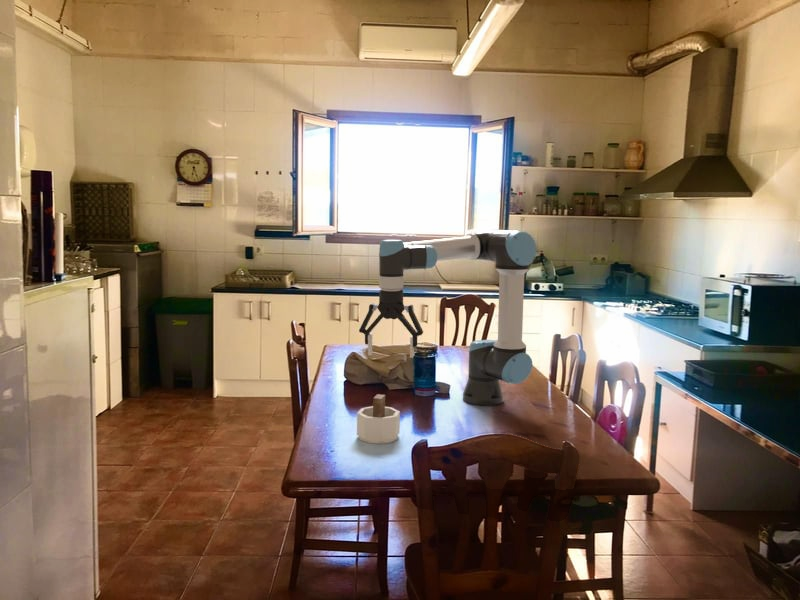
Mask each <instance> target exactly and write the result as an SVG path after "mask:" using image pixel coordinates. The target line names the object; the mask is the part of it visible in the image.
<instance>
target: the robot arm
mask: <svg viewBox="0 0 800 600" xmlns="http://www.w3.org/2000/svg"><path fill="white" fill-rule="evenodd" d="M537 250H538V249H537V244H536V241H535V239H534V238H533V237H532V235H531V234H530V233H528V232H527V231H523V230H518V229H515V230H513V229H489V230H484V231H480V232H479V231H478V232H471V233H468V234H466V235H465V236H461V237H460V236H459V237H450V238H449V237H446V238H439V239H430V240H429V239H428V240H418V241H417V240H416V241H409V242H408V241H407V242H406V241H405V242H404V241H403V240H402V239H382V240H381V241H380V243H379V249H378V251H379V252H378V257H379V258H378V259H379V261H378V262H379V264H378V265H379V266H378V268H379V275H378V277H379V279H378V280H379V282H378V287H379V289H380V290H379V293H378V295H379V298H378V304H375V303H372V302H371V304H369V306H368V312H367V313H366V315H365V318H364V319H363V320H362V323H361V326H360V328H359V330H358V332H359V333H362V334H363V335H364V343H365V345H367V356H371V355H372V354H373V333H371V332H372V331H373V329H375V327H377V325H378V324H379V323H380V322H381V320H382V319H383V318H384V319H385V320H390V319H392V320H397V319H398V320H399V321H400V322H401V323H402V325H403V326H404V327H405V328H406V329H407V331H408V332H409V334H411V335H410V337H409V358H410V359H413V358H414V357H415V348H416V347H418V337H419V336H422V335H423V334H424V330H423V327H422V326H421V324H420V322H419V319H418V318H417V316H416V313H415V312H414V305H413V304H409V305H405V304H404V290H403V288H404V270H405V271H407V270H427V269H432V268H434V267H435V266H436V264H437V262H439V261H440V262H441V261H449V260H459V259H460V260H461V259H469V260H470V261H474V260H481V261H482V260H483V261H488V262H494V263H495V268H494V269H495V270H496V271H497V272H498V273H499V274H498V275H499V279H498V281H499V283H498V284H499V285H498V316H497V339H480V340H473V341H471V342H470V344H469V349H468V376H467V377H468V378H467V382H466V385H465V387H464V390H463V393H462V400H463V402H465V403H468V404H470V405H475V406H476V405H477V406H483V407H484V406H497V405H501V404H503V402H504V394H503V391H502V387H501V383H500V381H503V382H504V383H505V384H506V383H507V384H512V385H518V384H521V383H523V382H524V381H526V380H527V378H528V377H529V376H530V374H531V372H532V370H533V360H532V357H531V356H530V355H529V354H528V353H527V345H526V343H525V342H524V341H523V327H524V326H523V324H524V322H523V320H524V296H525V294H524V292H525V290H524V289H525V274H526V273H527V272H528V271H529V269H530V264H532V263H533V262H534V259H535V258H536V256H537ZM377 309H378V312H379V313H380V314H379V315H378V316H377V317H376V318H375V319H374V321H373V322H372V323H371V324H370V326H368V324H369V322H370V320H371V318H372V316H373V314H374V312H376V310H377ZM404 311H406V313H408V315H409V317H410V319H411V321H412V324H413V326H412V324H411V323H410V322H409V321H408V319H407V318H406V316H405V315H404ZM367 326H368V327H367ZM366 328H367V329H366Z"/></svg>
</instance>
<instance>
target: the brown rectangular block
mask: <svg viewBox="0 0 800 600" xmlns="http://www.w3.org/2000/svg"><path fill="white" fill-rule="evenodd" d="M372 406H373V417H380V418H382V417H385V407H386V394H379V393H377V394H376V395H375V396H374V397H373V401H372Z"/></svg>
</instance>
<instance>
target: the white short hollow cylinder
mask: <svg viewBox="0 0 800 600" xmlns="http://www.w3.org/2000/svg"><path fill="white" fill-rule="evenodd" d="M400 416H401V411H400V410H398V409H395V408H394V407H391V406H385V417H382V418H380V417H373V405H372V406H366V407H361V408H360V409H359V411H357V412H356V436H357V437H358V439H359V440H360V441H361V442H364V443H367V444H373V445H383V444H385V445H386V444H391V443H394V442H395V441H397V440H398V438H399V434H400V425H401V424H400V423H401V420H400V419H401V417H400Z"/></svg>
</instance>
